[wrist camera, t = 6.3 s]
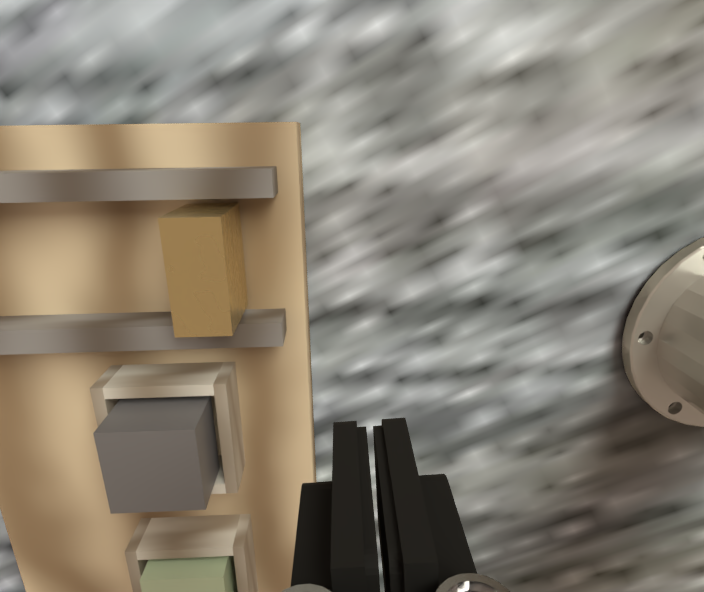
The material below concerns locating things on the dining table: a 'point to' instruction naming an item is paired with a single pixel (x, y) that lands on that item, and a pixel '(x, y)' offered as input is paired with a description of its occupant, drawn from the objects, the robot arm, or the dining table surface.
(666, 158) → the dining table surface
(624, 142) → the dining table surface
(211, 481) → the charcoal button
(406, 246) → the dining table surface
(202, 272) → the brass lever
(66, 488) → the control panel
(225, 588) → the green button
